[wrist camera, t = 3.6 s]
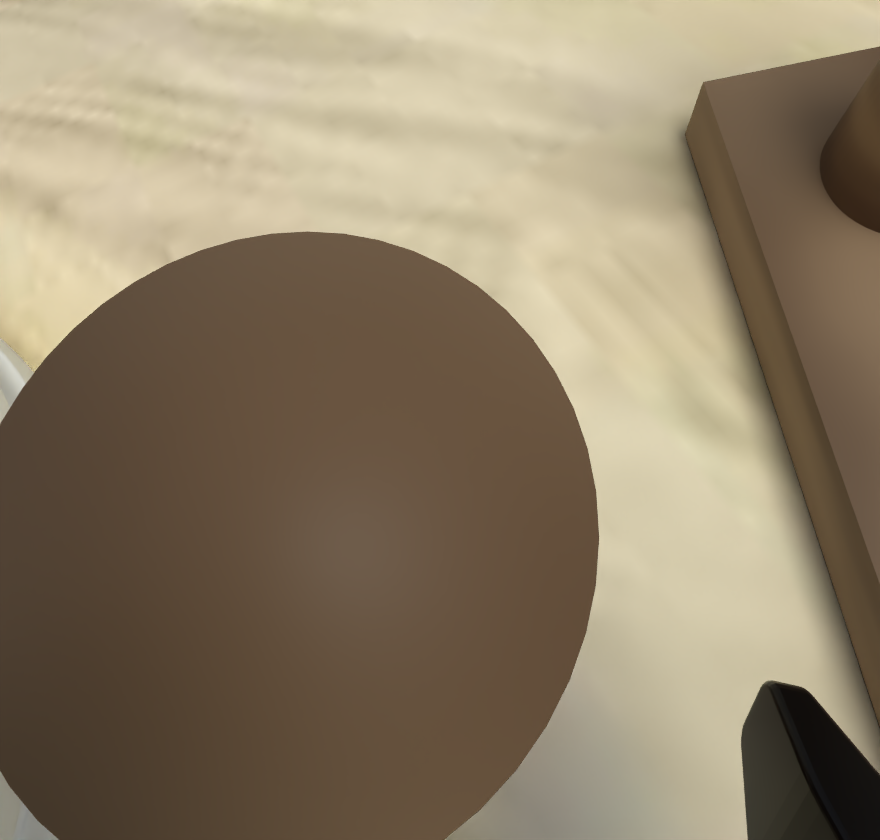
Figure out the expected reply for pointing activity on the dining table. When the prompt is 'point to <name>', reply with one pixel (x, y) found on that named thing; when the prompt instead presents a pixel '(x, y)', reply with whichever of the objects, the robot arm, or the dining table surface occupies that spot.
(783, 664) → the dining table surface
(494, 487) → the stool leg
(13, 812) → the plate stack
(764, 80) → the peg board
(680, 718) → the dining table surface
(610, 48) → the dining table surface
